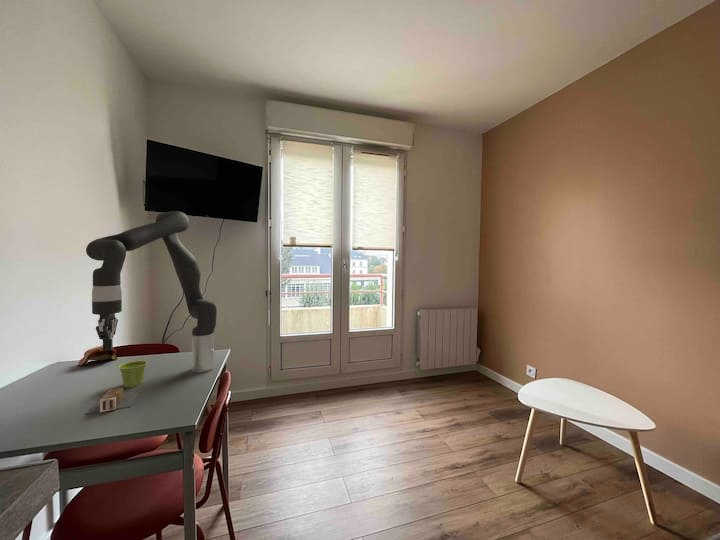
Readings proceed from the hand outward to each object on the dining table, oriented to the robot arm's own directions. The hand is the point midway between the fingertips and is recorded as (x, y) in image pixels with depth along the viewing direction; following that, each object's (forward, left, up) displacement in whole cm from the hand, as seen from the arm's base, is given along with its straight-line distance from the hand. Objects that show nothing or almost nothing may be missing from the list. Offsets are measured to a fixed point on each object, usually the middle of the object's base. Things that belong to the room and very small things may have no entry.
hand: (107, 349), depth 96 cm
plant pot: (-2, -23, -22) cm, 32 cm away
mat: (0, -7, -21) cm, 22 cm away
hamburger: (+20, -59, -22) cm, 66 cm away
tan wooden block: (0, 0, -19) cm, 19 cm away
